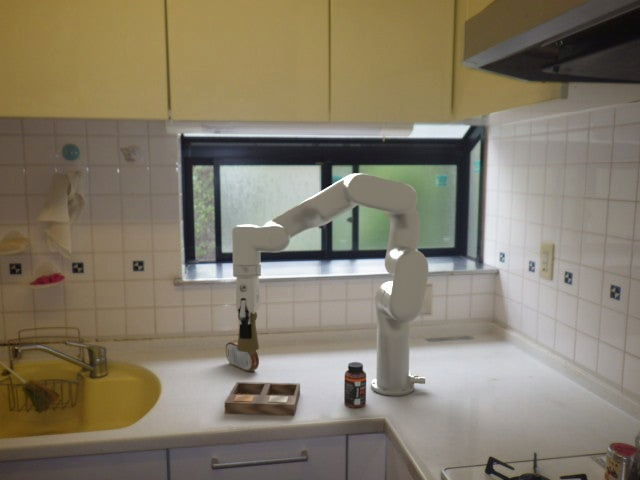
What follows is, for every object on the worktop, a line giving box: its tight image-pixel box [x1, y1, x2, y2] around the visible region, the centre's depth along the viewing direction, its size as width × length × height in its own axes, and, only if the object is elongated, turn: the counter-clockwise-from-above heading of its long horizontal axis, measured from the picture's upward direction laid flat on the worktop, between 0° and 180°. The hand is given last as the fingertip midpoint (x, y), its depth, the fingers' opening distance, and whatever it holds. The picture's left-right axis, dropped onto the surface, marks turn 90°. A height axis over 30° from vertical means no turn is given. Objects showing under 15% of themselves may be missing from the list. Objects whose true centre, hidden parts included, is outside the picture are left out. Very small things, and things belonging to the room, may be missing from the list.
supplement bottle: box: [343, 361, 367, 409], centre depth 141 cm, size 6×6×11 cm
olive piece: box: [237, 311, 260, 352], centre depth 143 cm, size 6×6×11 cm
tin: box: [225, 339, 260, 373], centre depth 169 cm, size 15×3×8 cm, turn 45°
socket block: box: [224, 381, 301, 417], centre depth 143 cm, size 18×14×3 cm
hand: (247, 334), depth 143 cm, fingers closed on olive piece, 4 cm apart
